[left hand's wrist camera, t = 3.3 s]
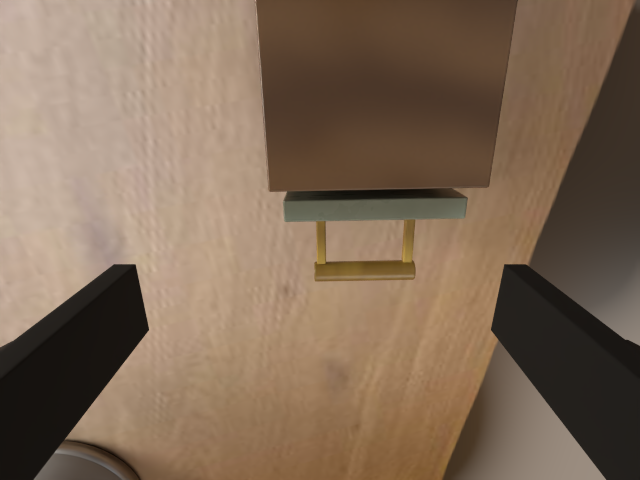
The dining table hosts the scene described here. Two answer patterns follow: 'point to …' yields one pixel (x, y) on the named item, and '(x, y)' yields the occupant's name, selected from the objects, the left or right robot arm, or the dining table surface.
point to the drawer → (371, 208)
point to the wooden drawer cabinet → (382, 91)
